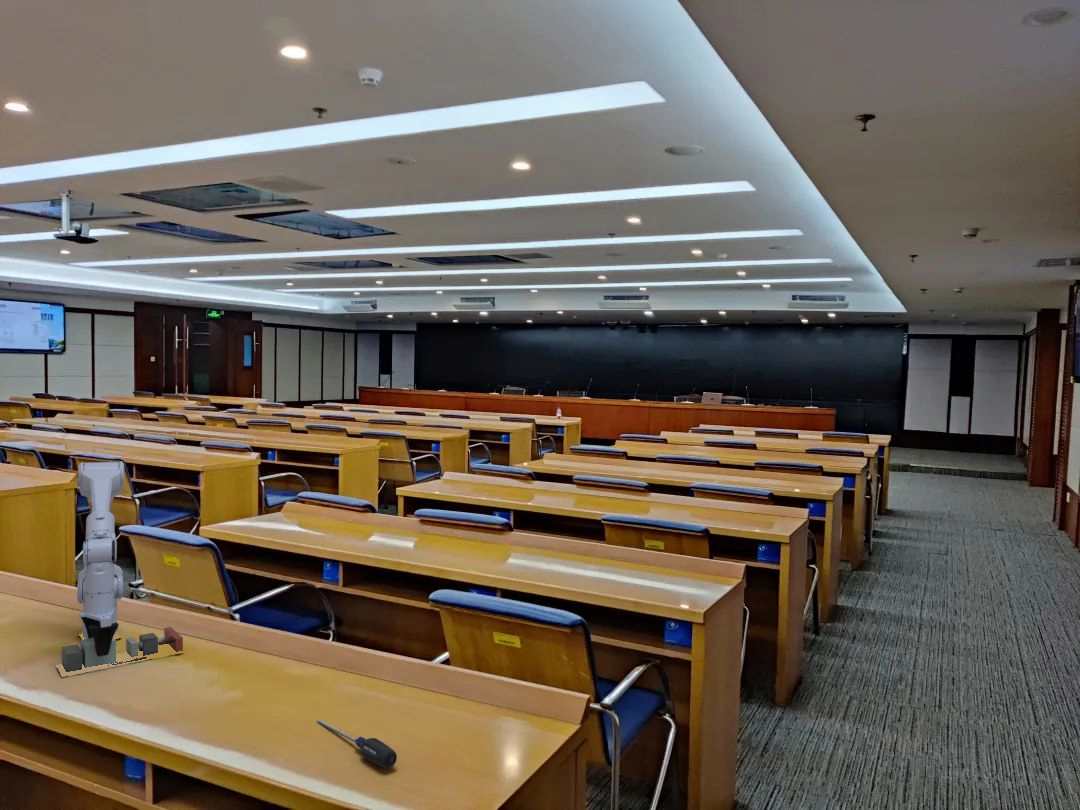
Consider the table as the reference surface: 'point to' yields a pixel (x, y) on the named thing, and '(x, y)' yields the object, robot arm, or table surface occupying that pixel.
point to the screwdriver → (370, 748)
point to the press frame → (74, 662)
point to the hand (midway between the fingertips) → (99, 650)
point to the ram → (169, 638)
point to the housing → (91, 657)
